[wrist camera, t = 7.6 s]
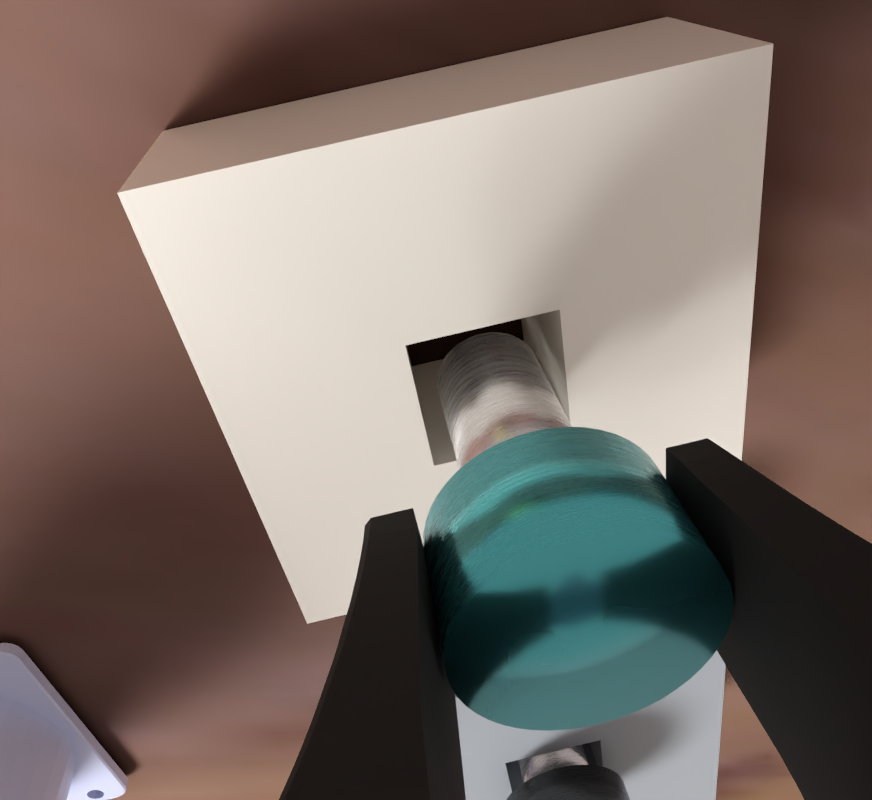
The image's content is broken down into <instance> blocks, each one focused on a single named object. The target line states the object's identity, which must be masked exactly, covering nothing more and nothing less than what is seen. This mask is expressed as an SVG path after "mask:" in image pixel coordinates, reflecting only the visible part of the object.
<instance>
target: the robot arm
mask: <svg viewBox="0 0 872 800" xmlns="http://www.w3.org/2000/svg"><path fill="white" fill-rule="evenodd" d="M666 481H667V482H668V484H669V485H670V487H671V488H672V490H673V492H674V493H675V495H676V496H677V498H678V499H679V501H680V502H681V504H682V506H683V507H684V509H685V510H686V512H687V513H688V515H689V517H690V518H691V520H692V521H693V523H694V524H695V526H696V528H697V529H698V531H699V532H700V534H701V535H702V537H703V538H704V540H705V542H706V543H707V545H708V546H709V548H710V549H711V551H712V553H713V554H714V556H715V557H716V559H717V560H718V562H719V563H720V565H721V567H722V568H723V570H724V571H725V573H726V575H727V577H728V579H729V582H730V584H731V588H732V592H733V613H732V619H731V622H730V625H729V628H728V631H727V633H726V635H725V637H724V639H723V641H722V643H721V645H720V646H719V648H718V649H717V651H718V653H719V655H720V656H721V658H722V660H723V661H724V663H725V665H726V666H727V668H728V670H729V671H730V673H731V675H732V676H733V678H734V680H735V681H736V683H737V685H738V686H739V688H740V689H741V691H742V693H743V694H744V696H745V698H746V699H747V701H748V703H749V704H750V706H751V708H752V709H753V711H754V713H755V714H756V716H757V717H758V719H759V721H760V722H761V724H762V726H763V727H764V729H765V731H766V732H767V734H768V736H769V737H770V739H771V741H772V742H773V744H774V745H775V747H776V749H777V750H778V752H779V754H780V755H781V757H782V759H783V761H784V763H785V764H786V766H787V768H788V770H789V772H790V773H791V775H792V777H793V779H794V781H795V782H796V784H797V786H798V788H799V790H800V792H801V794H802V796H803V798H804V800H872V544H871V543H869V542H868V541H866V540H864V539H863V538H861V537H859V536H857V535H856V534H854V533H853V532H851V531H849V530H848V529H846V528H844V527H843V526H841V525H840V524H838V523H836V522H835V521H833V520H832V519H830V518H828V517H827V516H825V515H824V514H822V513H820V512H819V511H817V510H816V509H814V508H812V507H811V506H809V505H808V504H806V503H805V502H803V501H802V500H800V499H798V498H797V497H795V496H794V495H792V494H791V493H789V492H788V491H786V490H785V489H783V488H782V487H780V486H779V485H777V484H776V483H774V482H773V481H771V480H770V479H768V478H767V477H765V476H764V475H762V474H761V473H759V472H758V471H756V470H755V469H753V468H752V467H750V466H749V465H747V464H746V463H744V462H743V461H741V460H740V459H738V458H737V457H735V456H734V455H732V454H731V453H729V452H728V451H726V450H725V449H723V448H722V447H720V446H719V445H717V444H716V443H714V442H713V441H711V440H710V439H708V438H706V439H702V440H698V441H694V442H689V443H685V444H681V445H677V446H673V447H668V448H666ZM127 784H128V778H127V776H126V775H125V774H124V773H123V772H122V770H121V769H120V768H119V767H118V765H117V764H116V763H115V762H114V761H113V759H112V758H111V757H110V756H109V754H108V753H107V752H106V751H105V750H104V748H103V747H102V746H101V745H100V743H99V742H98V741H97V740H96V738H95V737H94V736H93V735H92V734H91V732H90V731H89V730H88V729H87V727H86V726H85V725H84V724H83V723H82V721H81V720H80V719H79V718H78V716H77V715H76V714H75V713H74V712H73V710H72V709H71V708H70V707H69V705H68V704H67V703H66V702H65V701H64V699H63V698H62V697H61V696H60V694H59V693H58V692H57V691H56V690H55V688H54V687H53V686H52V685H51V683H50V682H49V681H48V680H47V679H46V677H45V676H44V675H43V674H42V672H41V671H40V670H39V669H38V667H37V666H36V665H35V664H34V663H33V661H32V660H31V659H30V658H29V656H28V655H27V654H26V653H25V652H24V650H23V649H21V648H20V647H19V646H17V645H14V644H11V643H0V800H108V799H112V798H116V797H119V796H121V795H123V794H124V793H125V792H126V789H127ZM279 800H466V796H465V787H464V777H463V767H462V757H461V747H460V737H459V728H458V718H457V708H456V699H455V693H454V691H453V690H452V688H451V686H450V684H449V681H448V679H447V676H446V670H445V665H444V659H443V654H442V648H441V642H440V637H439V631H438V626H437V620H436V614H435V609H434V603H433V597H432V592H431V586H430V580H429V575H428V569H427V564H426V558H425V552H424V547H423V543H422V539H421V536H420V532H419V528H418V525H417V521H416V517H415V514H414V510H413V508H411V509H406V510H402V511H398V512H394V513H389V514H385V515H381V516H377V517H372V518H370V520H369V521H368V522H367V523H366V525H365V528H364V538H363V545H362V551H361V556H360V562H359V567H358V571H357V576H356V580H355V584H354V589H353V593H352V597H351V601H350V605H349V608H348V612H347V615H346V619H345V622H344V626H343V629H342V633H341V636H340V640H339V643H338V647H337V650H336V653H335V657H334V660H333V663H332V666H331V668H330V671H329V674H328V677H327V680H326V683H325V686H324V688H323V691H322V694H321V697H320V700H319V703H318V706H317V708H316V711H315V714H314V717H313V720H312V722H311V725H310V727H309V730H308V732H307V735H306V737H305V740H304V743H303V745H302V748H301V750H300V752H299V755H298V757H297V760H296V762H295V765H294V767H293V769H292V771H291V774H290V776H289V778H288V781H287V783H286V785H285V787H284V790H283V792H282V794H281V797H280V799H279Z"/></svg>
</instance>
